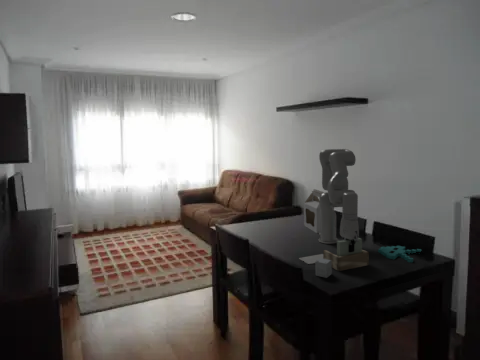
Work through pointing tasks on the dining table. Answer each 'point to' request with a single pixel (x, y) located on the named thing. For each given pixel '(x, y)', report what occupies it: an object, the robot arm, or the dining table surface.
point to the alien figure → (397, 252)
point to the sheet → (344, 247)
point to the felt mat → (311, 258)
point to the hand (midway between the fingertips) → (349, 250)
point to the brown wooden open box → (347, 260)
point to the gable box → (313, 211)
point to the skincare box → (323, 267)
